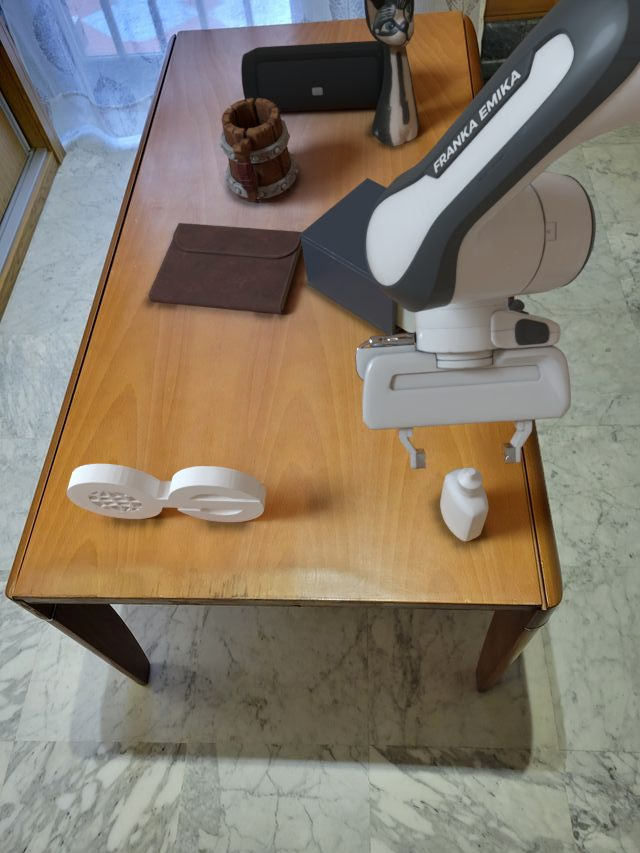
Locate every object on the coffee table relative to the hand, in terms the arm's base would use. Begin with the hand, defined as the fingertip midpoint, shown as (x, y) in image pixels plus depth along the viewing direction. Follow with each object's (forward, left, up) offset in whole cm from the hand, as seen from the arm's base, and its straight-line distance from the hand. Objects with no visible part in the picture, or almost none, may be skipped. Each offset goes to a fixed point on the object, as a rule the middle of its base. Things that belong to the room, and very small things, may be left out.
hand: (464, 464), depth 65 cm
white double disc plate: (+24, +22, -9) cm, 34 cm away
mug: (+56, -24, -9) cm, 62 cm away
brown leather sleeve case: (+47, -8, -9) cm, 49 cm away
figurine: (+48, -47, -9) cm, 68 cm away
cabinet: (+28, -20, -9) cm, 36 cm away
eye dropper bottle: (-2, +2, -9) cm, 9 cm away
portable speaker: (+63, -46, -9) cm, 79 cm away
